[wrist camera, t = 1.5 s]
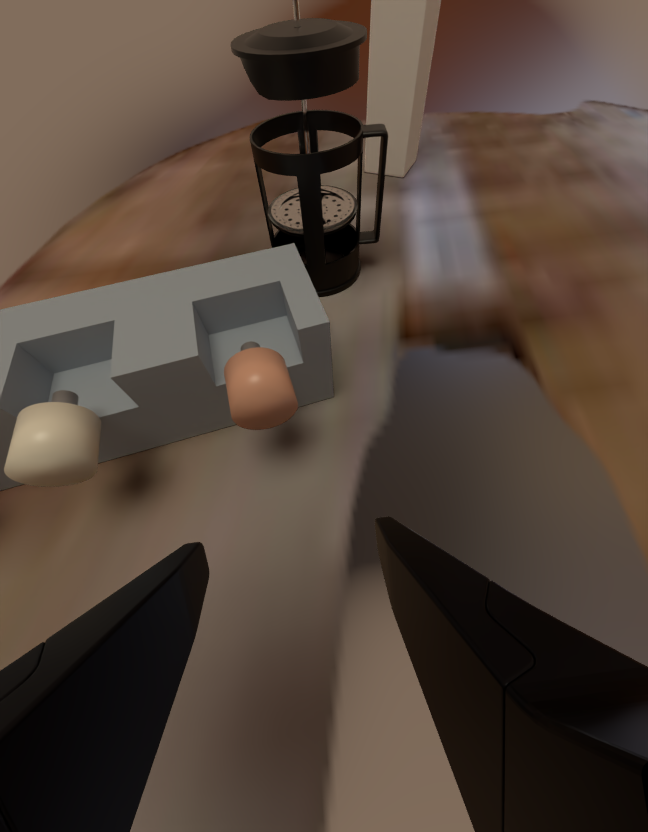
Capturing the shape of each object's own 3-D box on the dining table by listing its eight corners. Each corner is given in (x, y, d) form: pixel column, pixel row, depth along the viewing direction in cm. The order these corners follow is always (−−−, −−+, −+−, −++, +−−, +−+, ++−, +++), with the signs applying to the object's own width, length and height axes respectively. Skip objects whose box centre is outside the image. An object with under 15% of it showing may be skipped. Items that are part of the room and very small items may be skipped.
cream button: (112, 473, 18) (63, 445, 15) (45, 492, 18) (-19, 467, 14) (116, 405, 20) (75, 368, 17) (57, 421, 20) (5, 386, 17)
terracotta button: (301, 419, 19) (293, 381, 16) (241, 436, 19) (221, 401, 16) (283, 360, 22) (273, 319, 18) (230, 374, 21) (211, 334, 18)
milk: (403, 178, 45) (444, -130, 26) (363, 172, 47) (375, -122, 28) (416, 160, 48) (462, -132, 29) (378, 155, 50) (398, -125, 31)
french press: (267, 301, 33) (152, -151, 14) (271, 248, 38) (192, -139, 18) (381, 292, 33) (434, -185, 13) (370, 240, 38) (397, -163, 18)
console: (333, 397, 26) (329, 321, 19) (-92, 516, 23) (-275, 476, 16) (305, 324, 31) (294, 243, 24) (-52, 415, 28) (-182, 350, 21)
